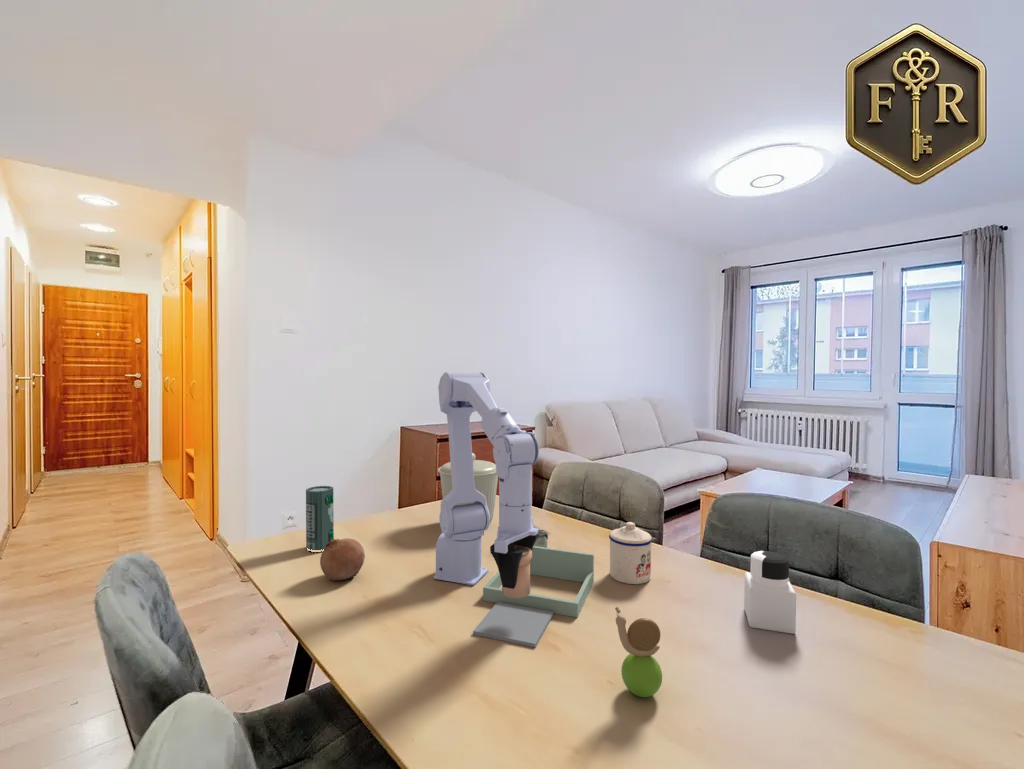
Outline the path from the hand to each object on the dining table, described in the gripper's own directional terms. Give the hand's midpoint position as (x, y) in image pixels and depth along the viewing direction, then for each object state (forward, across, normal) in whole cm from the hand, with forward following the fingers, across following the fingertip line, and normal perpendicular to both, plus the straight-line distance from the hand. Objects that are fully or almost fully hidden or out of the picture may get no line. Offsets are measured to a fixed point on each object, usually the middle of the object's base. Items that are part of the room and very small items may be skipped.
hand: (515, 579), depth 84 cm
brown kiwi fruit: (+8, +5, +41) cm, 42 cm away
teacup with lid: (+8, +29, -17) cm, 35 cm away
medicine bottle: (+8, +17, -42) cm, 46 cm away
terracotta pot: (+2, 0, 0) cm, 2 cm away
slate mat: (+8, 0, 0) cm, 8 cm away
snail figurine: (+8, -11, -22) cm, 26 cm away
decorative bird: (+8, +33, +8) cm, 35 cm away
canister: (+8, +47, +31) cm, 57 cm away
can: (+8, +17, +58) cm, 61 cm away
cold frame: (+8, +14, 0) cm, 16 cm away
